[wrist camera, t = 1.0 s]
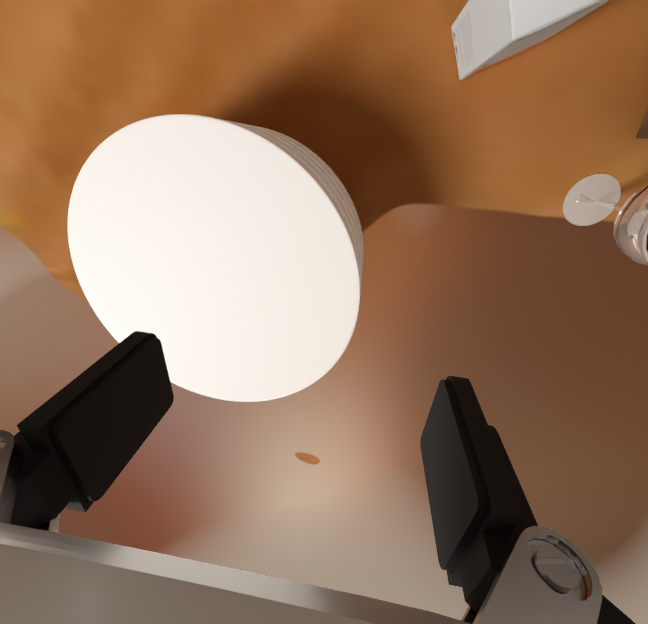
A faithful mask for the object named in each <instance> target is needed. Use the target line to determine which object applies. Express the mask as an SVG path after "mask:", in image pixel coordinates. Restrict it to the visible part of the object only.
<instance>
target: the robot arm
mask: <svg viewBox="0 0 648 624" xmlns="http://www.w3.org/2000/svg"><path fill="white" fill-rule="evenodd" d="M172 403H173V392H172V387H171V383H170V379H169V375H168V370H167V366H166V362H165V357H164V353H163V349H162V344H161V341H160V340H159V339H158V338H157V336H156V335H155V334H153V333H147V332H140V331H135V332H133V333H132V334H130V335H129V336H128V337H127V338H125V339H124V340H123V341H122V342H120V343H119V344H118V345H117V346H116V347H114V348H113V349H112V350H110V351H109V352H108V353H107V354H105V355H104V356H103V357H102V358H100V359H99V360H98V361H97V362H96V363H94V364H93V365H92V366H90V367H89V368H88V369H87V370H86V371H84V372H83V373H82V374H80V375H79V376H78V377H77V378H76V379H74V380H73V381H72V382H70V383H69V384H68V385H67V386H66V387H64V388H63V389H62V390H60V391H59V392H58V393H57V394H55V395H54V396H53V397H51V398H50V399H49V400H48V401H47V402H45V403H44V404H43V405H42V406H40V407H39V408H38V409H37V410H35V411H34V412H33V413H31V414H30V415H29V416H28V417H26V418H25V419H24V420H23V421H22V422H20V423H19V424H18V425H17V426H18V428H19V430H20V432H18V433H17V434H16V435H15V436H13V435H12V434H11V433H10V432H8V431H5V430H0V624H635V623H634V622H633V621H632V620H631V619H630V618H628V617H627V616H626V615H625V614H624V613H623V612H621V611H620V610H619V609H618V608H617V607H616V606H614V605H613V604H612V603H611V602H610V601H609V600H607V598H605V597H604V596H603V595H602V587H601V584H600V581H599V577H598V575H597V573H596V571H595V570H594V568H593V566H592V564H591V563H590V561H589V560H588V559H587V558H586V557H585V555H584V554H583V553H582V552H581V550H580V549H579V548H578V547H576V546H575V545H574V544H573V543H572V542H571V541H570V540H568V539H567V538H566V537H564V536H563V535H561V534H559V533H558V532H556V531H554V530H551V529H549V528H546V527H540V526H538V525H537V522H536V520H535V518H534V515H533V513H532V511H531V508H530V506H529V504H528V501H527V499H526V497H525V495H524V492H523V490H522V487H521V485H520V483H519V481H518V478H517V476H516V474H515V471H514V469H513V467H512V464H511V462H510V460H509V457H508V455H507V453H506V450H505V448H504V446H503V444H502V441H501V439H500V436H499V434H498V433H497V430H496V429H495V428H494V427H493V426H490V425H488V424H487V422H486V420H485V417H484V415H483V412H482V410H481V407H480V405H479V402H478V400H477V397H476V395H475V392H474V390H473V387H472V385H471V383H470V381H469V379H467V378H461V377H454V376H448V377H447V379H446V380H441V381H440V383H439V386H438V389H437V392H436V395H435V398H434V401H433V404H432V407H431V409H430V412H429V415H428V418H427V421H426V424H425V427H424V430H423V433H422V436H421V452H422V459H423V465H424V471H425V477H426V484H427V490H428V496H429V503H430V509H431V515H432V522H433V528H434V534H435V541H436V547H437V553H438V560H439V564H440V567H441V568H442V569H444V570H447V575H448V581H449V584H450V585H454V586H459V587H463V592H464V597H465V601H466V602H467V603H468V605H469V606H468V608H467V610H466V612H465V614H464V616H463V618H462V620H461V621H460V620H457V619H454V618H450V617H447V616H443V615H440V614H437V613H433V612H430V611H425V610H421V609H417V608H412V607H408V606H404V605H400V604H395V603H391V602H387V601H382V600H378V599H374V598H370V597H365V596H361V595H356V594H351V593H347V592H342V591H337V590H332V589H328V588H323V587H319V586H314V585H309V584H304V583H299V582H294V581H290V580H286V579H281V578H276V577H271V576H267V575H262V574H257V573H252V572H247V571H243V570H238V569H233V568H228V567H223V566H218V565H214V564H209V563H204V562H199V561H194V560H189V559H185V558H180V557H175V556H170V555H165V554H160V553H155V552H151V551H146V550H141V549H136V548H131V547H126V546H121V545H116V544H110V543H106V542H101V541H96V540H91V539H86V538H81V537H76V536H71V535H66V534H61V533H58V525H59V514H60V513H61V511H62V510H63V509H64V508H65V507H66V506H67V508H68V509H73V510H78V511H83V512H86V511H87V509H89V507H90V506H91V505H92V503H93V502H94V501H97V500H99V499H100V498H101V497H102V496H103V495H104V493H105V492H106V491H107V490H108V488H109V487H110V486H111V484H112V483H113V482H114V480H115V479H116V478H117V476H118V475H119V474H120V473H121V471H122V470H123V469H124V467H125V466H126V465H127V463H128V462H129V460H130V459H131V458H132V457H133V455H134V454H135V453H136V451H137V450H138V449H139V447H140V446H141V445H142V444H143V442H144V441H145V440H146V438H147V437H148V436H149V434H150V433H151V432H152V430H153V429H154V428H155V427H156V425H157V424H158V422H159V421H160V420H161V418H162V417H163V416H164V415H165V413H166V412H167V411H168V409H169V408H170V407H171V405H172Z"/></svg>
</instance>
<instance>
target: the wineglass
mask: <svg viewBox="0 0 648 624" xmlns="http://www.w3.org/2000/svg"><path fill="white" fill-rule="evenodd" d="M620 196H621V187H620V185H619V182H618V181H617V180H616V179H615V178H614V177H613V176H610V175H607V174H594V175H591V176H588V177H586V178H584V179H582V180H581V181H579V182H577V183H576V184H575V185H574V186H573V187H572V188H571V189H570V191H569V192H568V194H567V196H566V197H565V200H564V204H563V213H564V215H565V217H566V219H567V220H568V221H569V222H571V223H572V224H575V225H578V226H587V225H591V224H594V223H597V222H599V221H601V220H602V219H604V218H605V217H607V216H608V215H609V214H610V213H611V212H612V211H613V210H616V211H619V212H618V215H617V218H616V220H615V223H614V237H615V239H616V241H617V244H618V246H619V248H620V250H621V251H623V252H624V253H625V254H626V255H628V256H629V257H630V258H631V259H633V260H634V261H636V262H639V263H642V264H645V265H648V184H647V185H645V186H643V187H642V188H640V189H639V190H638V191H637V192H636V193H634V194H633V195H632V196H631V197H630V198H629V199H628V200H627V201H626V202H625V204H620V203H618V201H619V199H620Z"/></svg>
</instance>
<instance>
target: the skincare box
mask: <svg viewBox="0 0 648 624" xmlns="http://www.w3.org/2000/svg"><path fill="white" fill-rule="evenodd" d="M607 1H609V0H469V1H468V2H467V4H466V5H465V7H464V8H463V10H462V11H461V13H460V14H459V16H458V17H457V19H456V20H455V22H454V23H453V25H452V26H451V29H452V35H453V42H454V48H455V54H456V60H457V67H458V74H459V80H463V79H465V78H467V77H469V76H471V75H474V74H476V73H478V72H480V71H482V70H484V69H486V68H489V67H491V66H493V65H495V64H497V63H500V62H502V61H504V60H507V59H509V58H512V57H514V56H516V55H519V54H521V53H523V52H526V51H528V50H530V49H532V48H533V47H535V46H537V45H538V44H540V43H542V42H543V41H545V40H546V39H548V38H550V37H551V36H553V35H555V34H556V33H558V32H559V31H561V30H563V29H564V28H566V27H567V26H569V25H571V24H572V23H574V22H576V21H577V20H579V19H580V18H582V17H583V16H585V15H587V14H588V13H590V12H592V11H593V10H595V9H596V8H598V7H599V6H601V5H603V4H604V3H606V2H607Z"/></svg>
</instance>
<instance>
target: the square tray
mask: <svg viewBox="0 0 648 624" xmlns="http://www.w3.org/2000/svg"><path fill="white" fill-rule="evenodd" d="M636 138H648V111H647V114H646V116H645V118H644V120H643V123H642V125H641V127H640V129H639V132H638V134H637V136H636Z"/></svg>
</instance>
